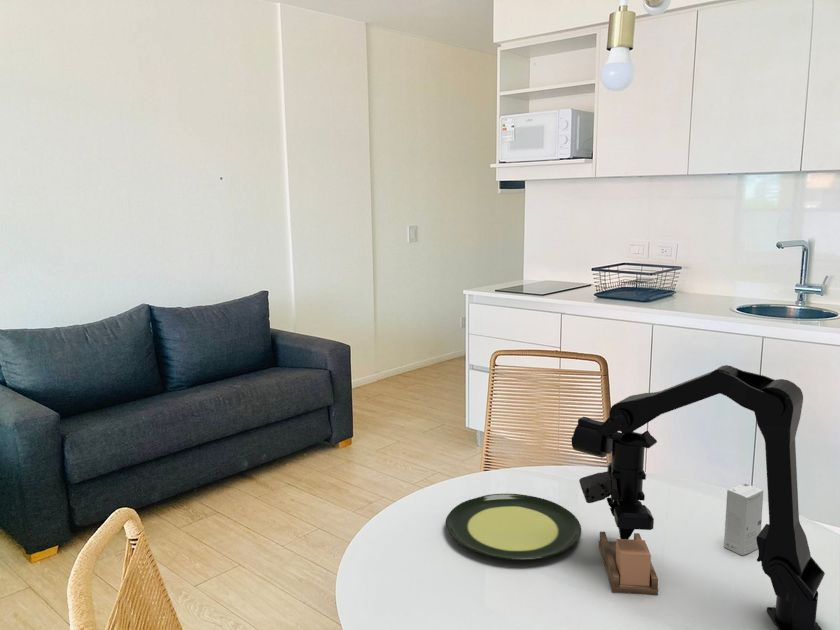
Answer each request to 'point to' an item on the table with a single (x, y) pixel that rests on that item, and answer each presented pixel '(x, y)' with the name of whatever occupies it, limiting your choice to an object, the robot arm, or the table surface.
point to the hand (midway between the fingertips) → (623, 540)
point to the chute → (609, 561)
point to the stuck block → (633, 562)
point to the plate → (513, 526)
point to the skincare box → (743, 518)
